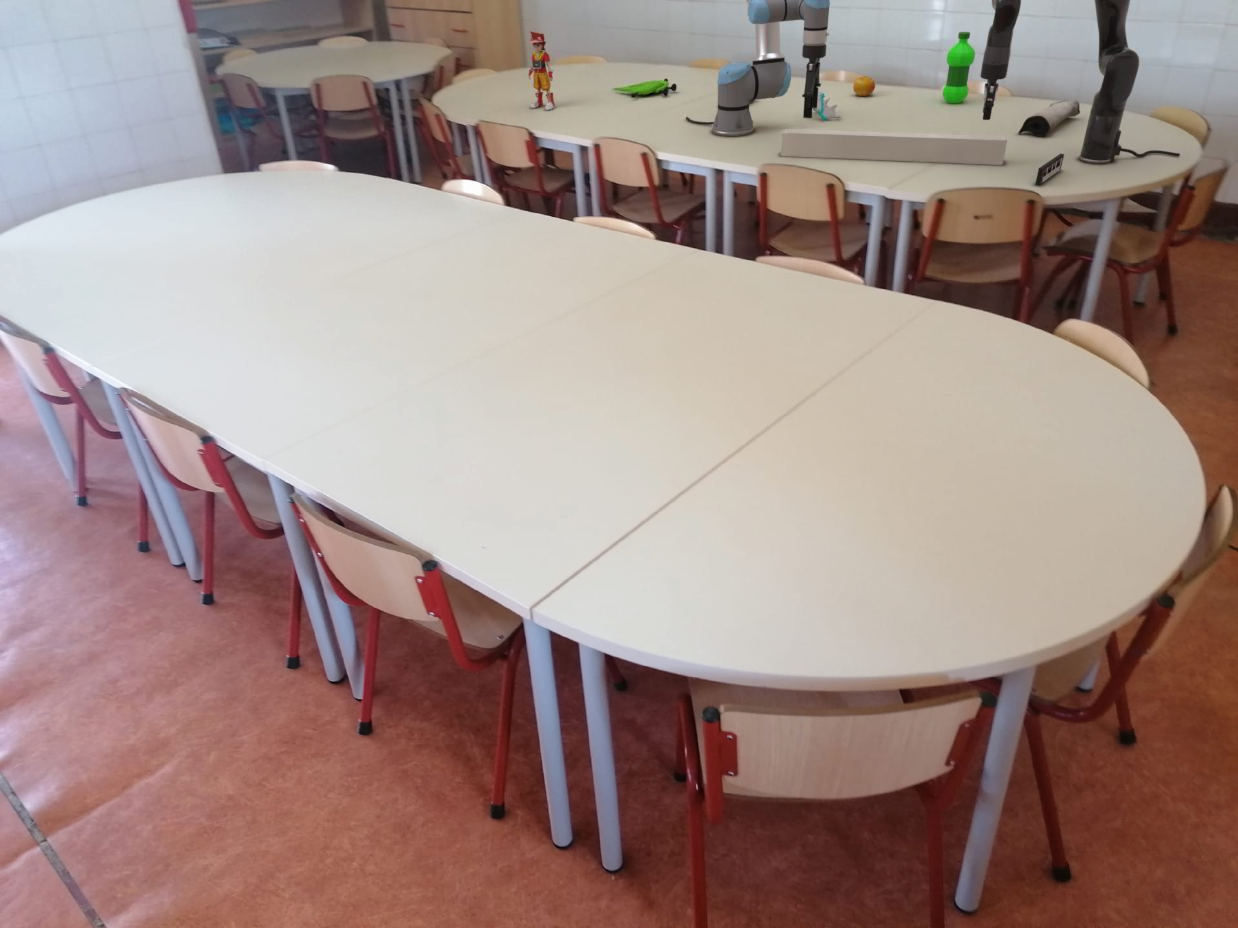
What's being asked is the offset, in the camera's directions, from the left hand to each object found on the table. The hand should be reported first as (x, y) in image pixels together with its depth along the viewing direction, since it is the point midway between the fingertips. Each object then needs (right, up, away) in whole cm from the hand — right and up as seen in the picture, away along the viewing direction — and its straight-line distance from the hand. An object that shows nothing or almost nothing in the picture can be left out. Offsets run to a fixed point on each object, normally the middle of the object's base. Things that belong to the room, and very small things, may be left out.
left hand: (810, 112), depth 301 cm
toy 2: (-55, +47, +96) cm, 120 cm away
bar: (+26, -16, -1) cm, 30 cm away
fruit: (+37, +35, +71) cm, 87 cm away
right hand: (+52, -8, -18) cm, 55 cm away
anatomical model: (+15, +17, +47) cm, 52 cm away
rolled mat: (+90, +3, +20) cm, 92 cm away
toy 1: (-97, +34, +82) cm, 132 cm away
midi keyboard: (+68, -30, -26) cm, 78 cm away
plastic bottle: (+69, +25, +54) cm, 91 cm away
